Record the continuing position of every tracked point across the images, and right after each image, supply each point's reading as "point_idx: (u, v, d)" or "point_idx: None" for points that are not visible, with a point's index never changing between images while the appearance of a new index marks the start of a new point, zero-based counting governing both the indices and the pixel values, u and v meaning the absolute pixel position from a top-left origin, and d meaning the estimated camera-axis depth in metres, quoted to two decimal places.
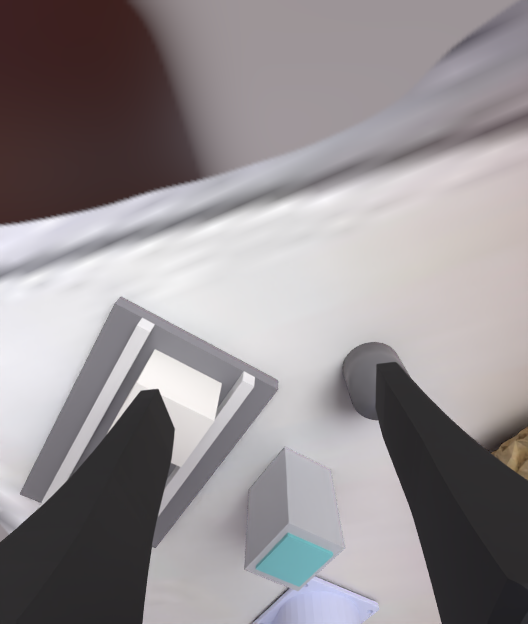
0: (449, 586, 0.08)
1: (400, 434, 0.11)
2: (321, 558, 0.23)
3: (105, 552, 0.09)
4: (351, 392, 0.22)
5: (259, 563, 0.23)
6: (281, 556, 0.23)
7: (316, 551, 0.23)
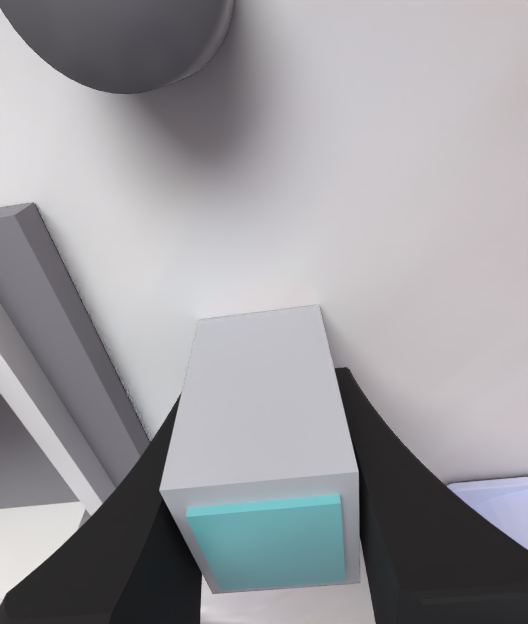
0: (376, 591, 0.08)
1: None
2: (321, 520, 0.08)
3: (171, 546, 0.09)
4: (30, 43, 0.06)
5: None
6: (233, 554, 0.09)
7: (292, 514, 0.08)
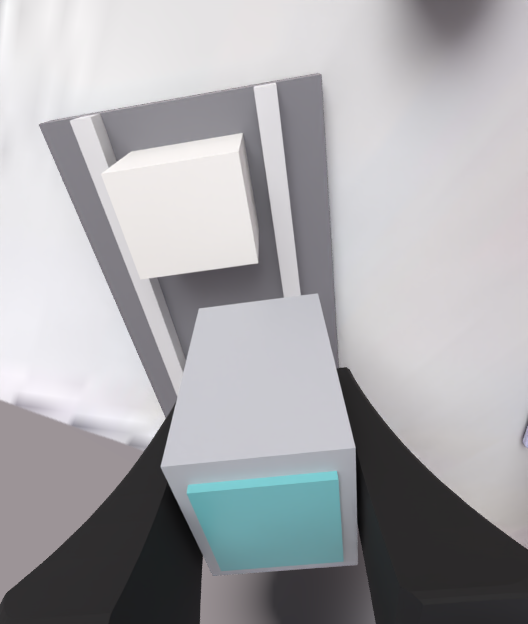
0: (376, 591, 0.08)
1: None
2: (319, 497, 0.08)
3: (171, 546, 0.09)
4: None
5: None
6: (233, 532, 0.09)
7: (290, 491, 0.08)
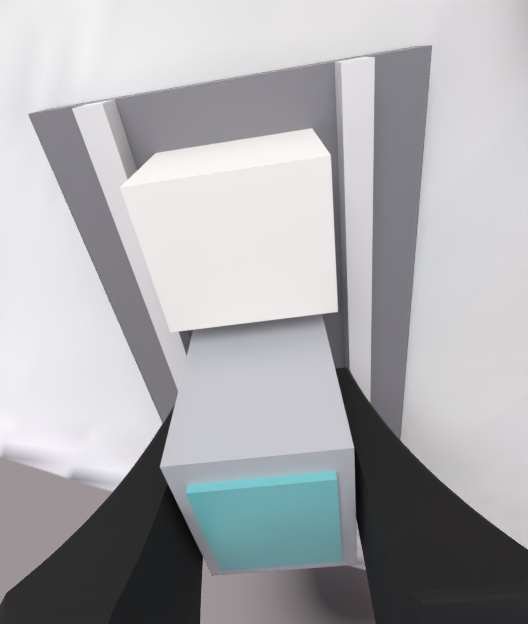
0: (376, 591, 0.08)
1: None
2: (318, 497, 0.08)
3: (171, 546, 0.09)
4: None
5: None
6: (232, 532, 0.09)
7: (289, 491, 0.08)
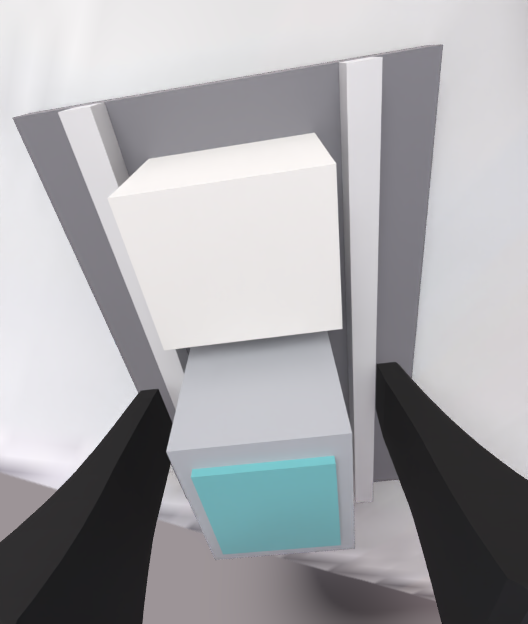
0: (449, 586, 0.08)
1: (400, 434, 0.11)
2: (318, 481, 0.09)
3: (105, 552, 0.09)
4: None
5: None
6: (235, 516, 0.09)
7: (290, 475, 0.09)
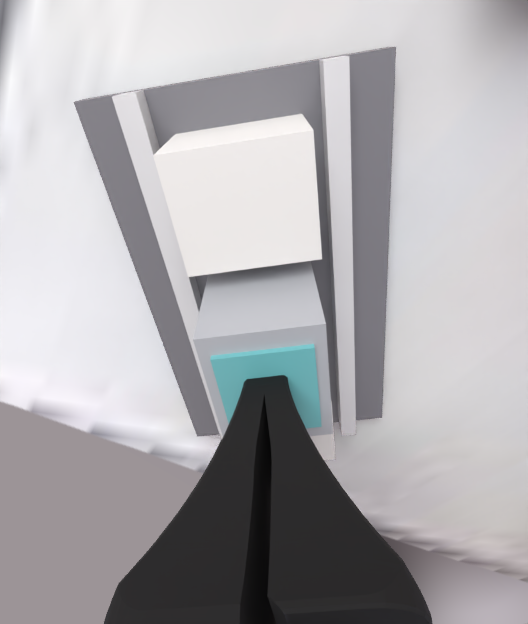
0: None
1: None
2: (302, 364, 0.12)
3: (260, 539, 0.08)
4: None
5: None
6: None
7: (281, 358, 0.12)
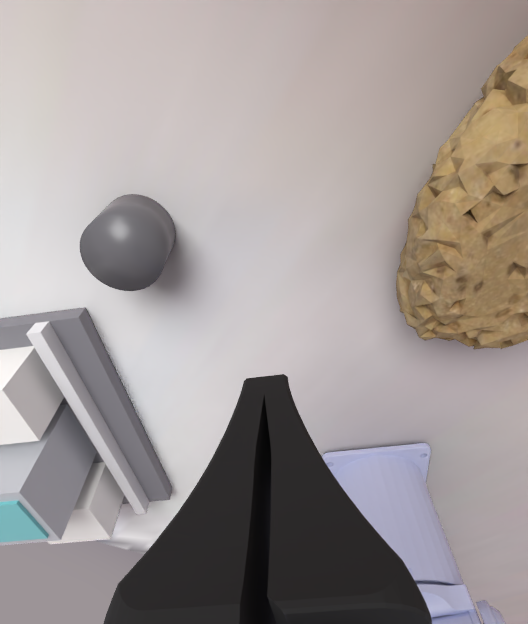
0: None
1: None
2: (14, 510, 0.21)
3: (260, 539, 0.08)
4: (96, 276, 0.18)
5: None
6: None
7: (0, 508, 0.20)
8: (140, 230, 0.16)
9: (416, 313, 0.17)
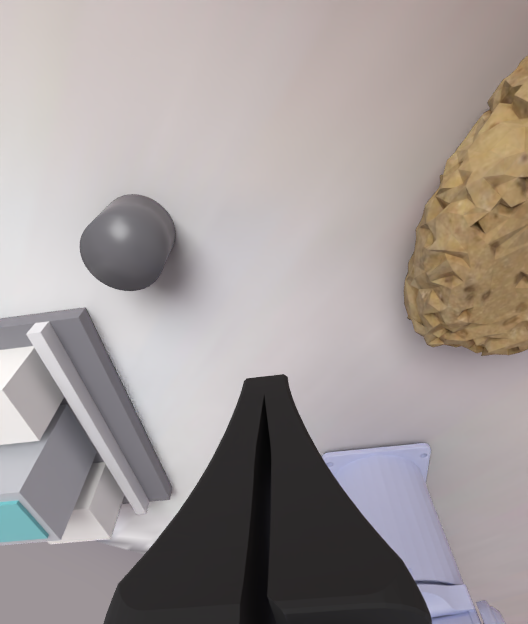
0: None
1: None
2: (14, 510, 0.21)
3: (260, 539, 0.08)
4: (96, 276, 0.18)
5: None
6: None
7: (0, 508, 0.20)
8: (140, 230, 0.16)
9: (424, 321, 0.17)
